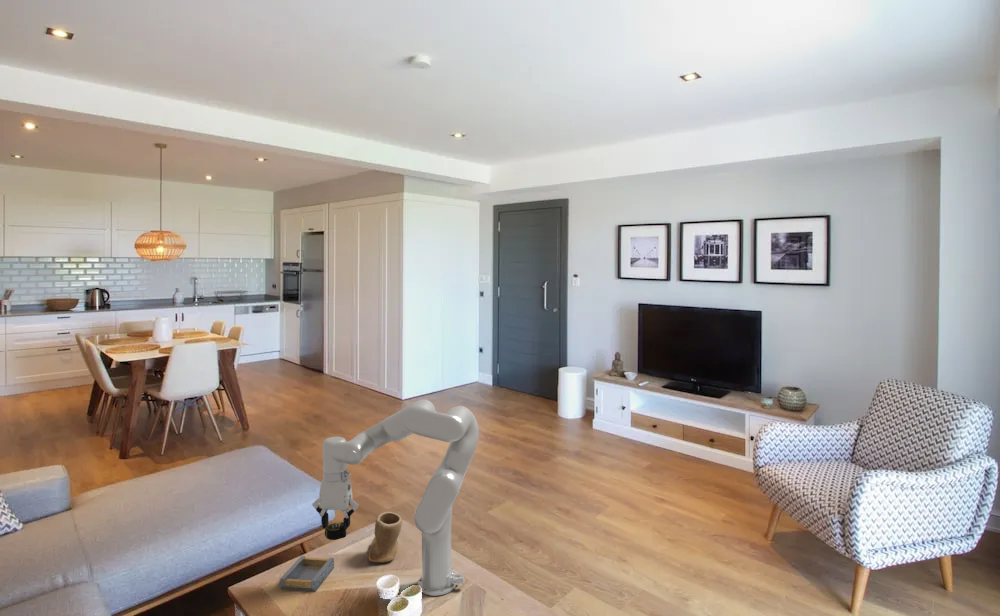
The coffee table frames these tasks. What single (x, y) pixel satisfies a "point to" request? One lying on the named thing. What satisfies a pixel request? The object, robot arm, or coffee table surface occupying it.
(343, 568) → the coffee table surface
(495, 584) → the coffee table surface
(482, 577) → the coffee table surface
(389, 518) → the brown boot
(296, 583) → the shallow grey tray
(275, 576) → the coffee table surface
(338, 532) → the tape measure
